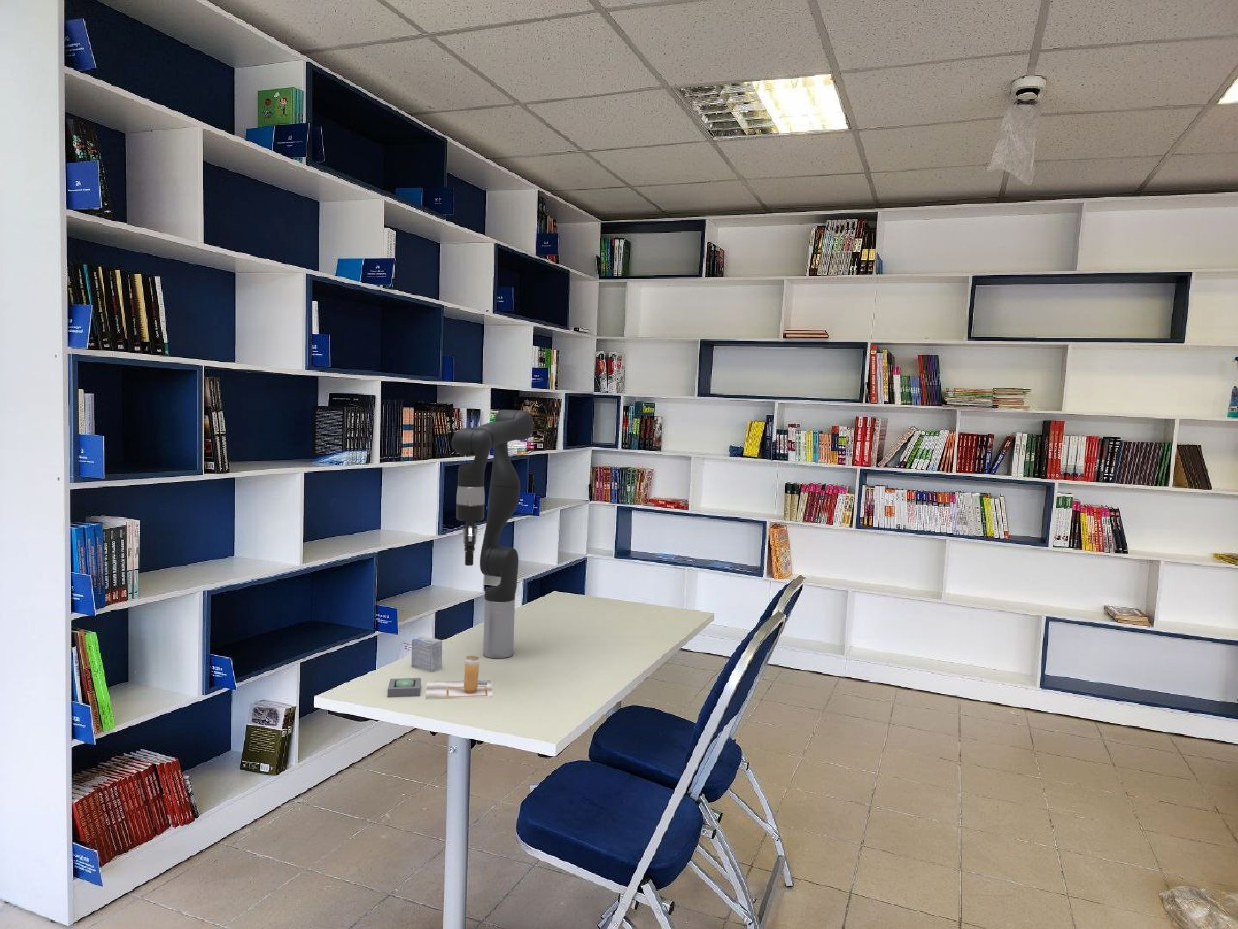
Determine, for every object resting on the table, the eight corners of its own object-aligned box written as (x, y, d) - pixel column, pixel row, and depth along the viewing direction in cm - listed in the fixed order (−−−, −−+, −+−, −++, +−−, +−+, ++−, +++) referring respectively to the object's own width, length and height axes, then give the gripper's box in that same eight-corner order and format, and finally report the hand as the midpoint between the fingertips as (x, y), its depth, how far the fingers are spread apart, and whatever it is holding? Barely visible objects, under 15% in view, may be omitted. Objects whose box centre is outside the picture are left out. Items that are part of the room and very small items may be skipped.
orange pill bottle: (461, 689, 213) (463, 656, 212) (475, 687, 214) (477, 655, 213) (465, 694, 209) (467, 661, 208) (479, 693, 211) (481, 660, 210)
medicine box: (442, 669, 230) (443, 640, 229) (431, 673, 226) (432, 643, 225) (422, 664, 234) (422, 635, 233) (410, 668, 230) (411, 638, 229)
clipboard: (423, 683, 218) (423, 681, 218) (493, 680, 222) (494, 679, 222) (421, 701, 204) (421, 700, 204) (496, 699, 208) (496, 697, 208)
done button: (396, 688, 212) (396, 679, 212) (413, 687, 213) (414, 678, 213) (395, 694, 208) (395, 684, 207) (413, 693, 208) (413, 684, 208)
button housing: (390, 688, 213) (390, 678, 213) (421, 687, 215) (421, 677, 215) (387, 698, 205) (387, 689, 205) (419, 697, 207) (420, 688, 207)
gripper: (456, 499, 225) (455, 560, 226) (456, 505, 212) (455, 570, 213) (483, 499, 226) (482, 560, 227) (485, 505, 213) (483, 570, 214)
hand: (469, 565), depth 220 cm, fingers closed
